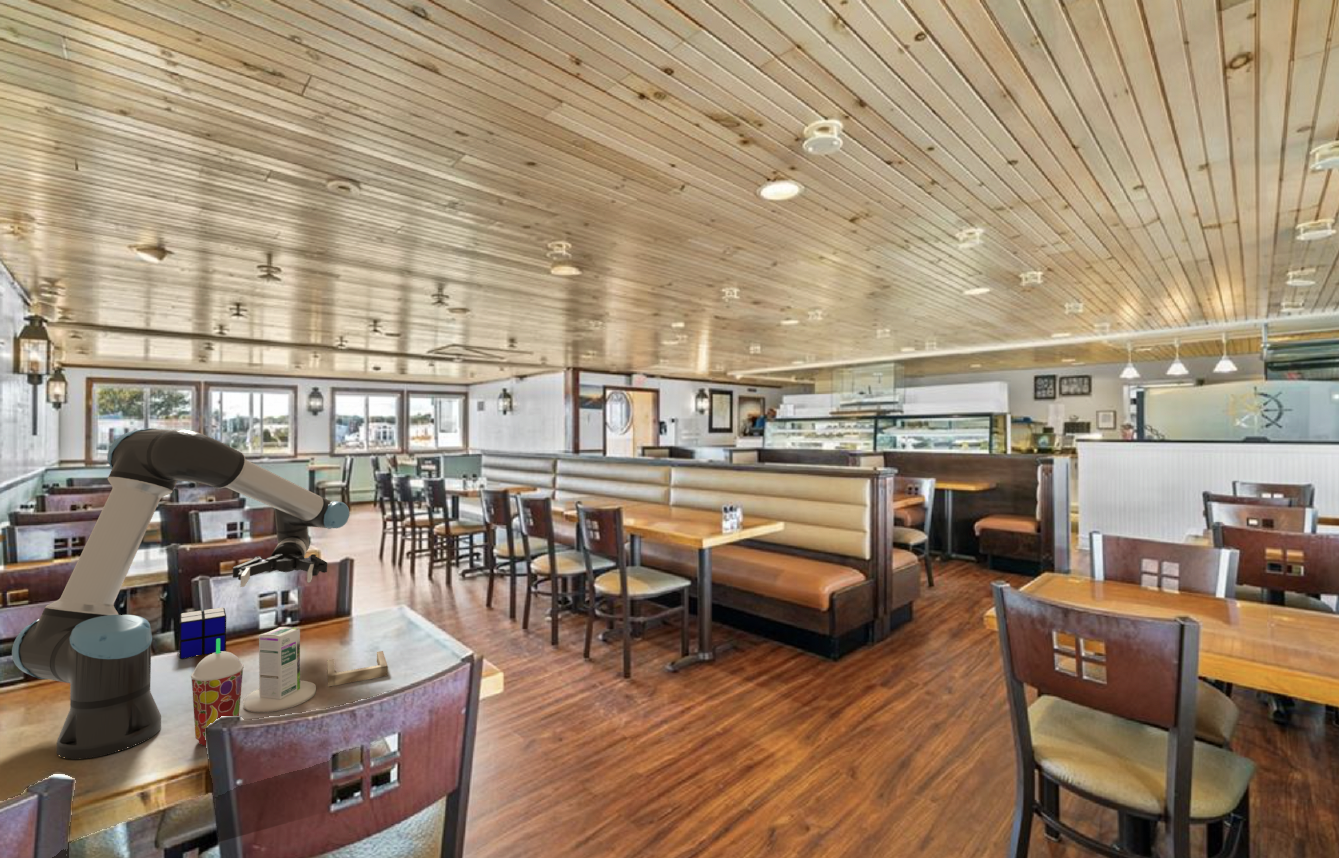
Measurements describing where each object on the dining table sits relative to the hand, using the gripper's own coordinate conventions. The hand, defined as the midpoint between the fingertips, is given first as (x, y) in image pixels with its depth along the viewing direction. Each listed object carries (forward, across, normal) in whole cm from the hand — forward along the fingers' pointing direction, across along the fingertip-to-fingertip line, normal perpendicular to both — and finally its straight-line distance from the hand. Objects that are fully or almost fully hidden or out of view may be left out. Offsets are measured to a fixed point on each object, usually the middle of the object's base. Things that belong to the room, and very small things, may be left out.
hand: (276, 579), depth 144 cm
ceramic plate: (+11, -3, -24) cm, 27 cm away
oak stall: (+2, -18, -25) cm, 31 cm away
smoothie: (+27, +6, -24) cm, 36 cm away
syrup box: (+11, -3, -24) cm, 26 cm away
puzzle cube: (-32, +21, -29) cm, 48 cm away
